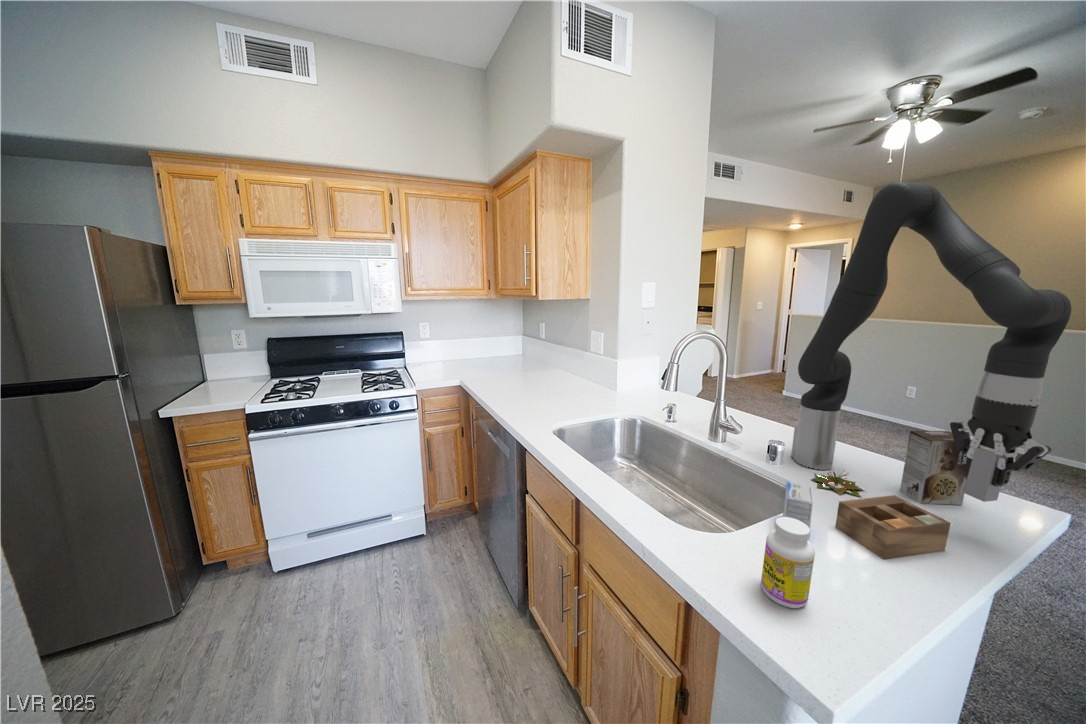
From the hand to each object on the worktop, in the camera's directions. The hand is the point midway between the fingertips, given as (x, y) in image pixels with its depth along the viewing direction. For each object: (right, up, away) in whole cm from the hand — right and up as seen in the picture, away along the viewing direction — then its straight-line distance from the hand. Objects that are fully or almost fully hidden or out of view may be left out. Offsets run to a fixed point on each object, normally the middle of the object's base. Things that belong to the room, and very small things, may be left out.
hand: (984, 480), depth 74 cm
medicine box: (-34, -12, +6) cm, 37 cm away
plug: (0, -3, +1) cm, 4 cm away
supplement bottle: (-47, -16, -11) cm, 51 cm away
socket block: (-17, -13, +2) cm, 21 cm away
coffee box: (+7, -10, +17) cm, 21 cm away
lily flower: (-11, -9, +23) cm, 28 cm away
